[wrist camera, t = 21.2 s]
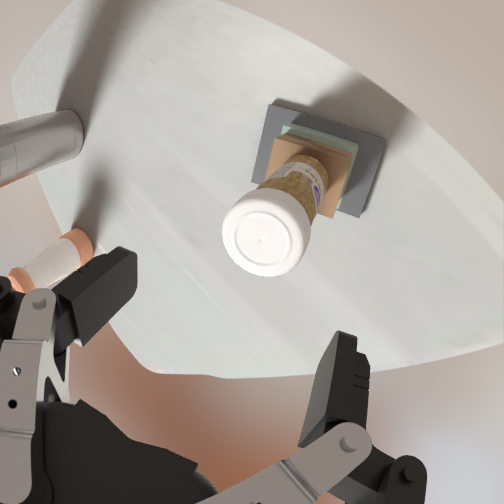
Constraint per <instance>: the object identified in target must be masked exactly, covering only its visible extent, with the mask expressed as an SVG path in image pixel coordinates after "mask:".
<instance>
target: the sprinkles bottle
mask: <svg viewBox="0 0 504 504" xmlns="http://www.w3.org/2000/svg"><path fill="white" fill-rule="evenodd" d="M327 186H328V174H327V172H326V170H325V168H324V166H323V165H322V164H321V163H320V162H319V161H318V160H317V159H315V158H313V157H311V156H306V155H296V156H293V157H292V158H289V159H288V160H286V161H285V162H284V163H283V165H282V166H281V167H279V168H278V169H277V170H276V171H275V172H274V173H273V174H271V175H270V176H269V177H268V178H267V179H266V180H265V181H263V182H262V183H261V184H260V185H259V186H258V187H257V189H256V190H253V191H251V192H249V193H247V194H246V195H244V196H243V197H242V198H241V199H240V200H239V201H238V202H237V203H235V204H234V205H233V207H232V208H231V209H230V210H229V212H228V213H227V215H226V217H225V219H224V223H223V228H222V235H223V241H224V245H225V247H226V250H227V251H228V253H229V255H230V256H231V258H232V259H233V260H234V261H235V262H236V263H237V264H238V265H239V266H240V267H242V268H243V269H245V270H246V271H248V272H251V273H253V274H256V275H260V276H278V275H281V274H284V273H286V272H288V271H290V270H291V269H293V268H294V267H295V266H296V265H297V264H298V263H299V262H300V260H301V259H302V257H303V255H304V253H305V250H306V248H307V246H308V243H309V240H310V234H311V225H312V222H313V219H314V217H315V216H316V214H317V212H318V209H319V207H320V204H321V201H322V199H323V195H324V194H325V192H326V190H327Z"/></svg>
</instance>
